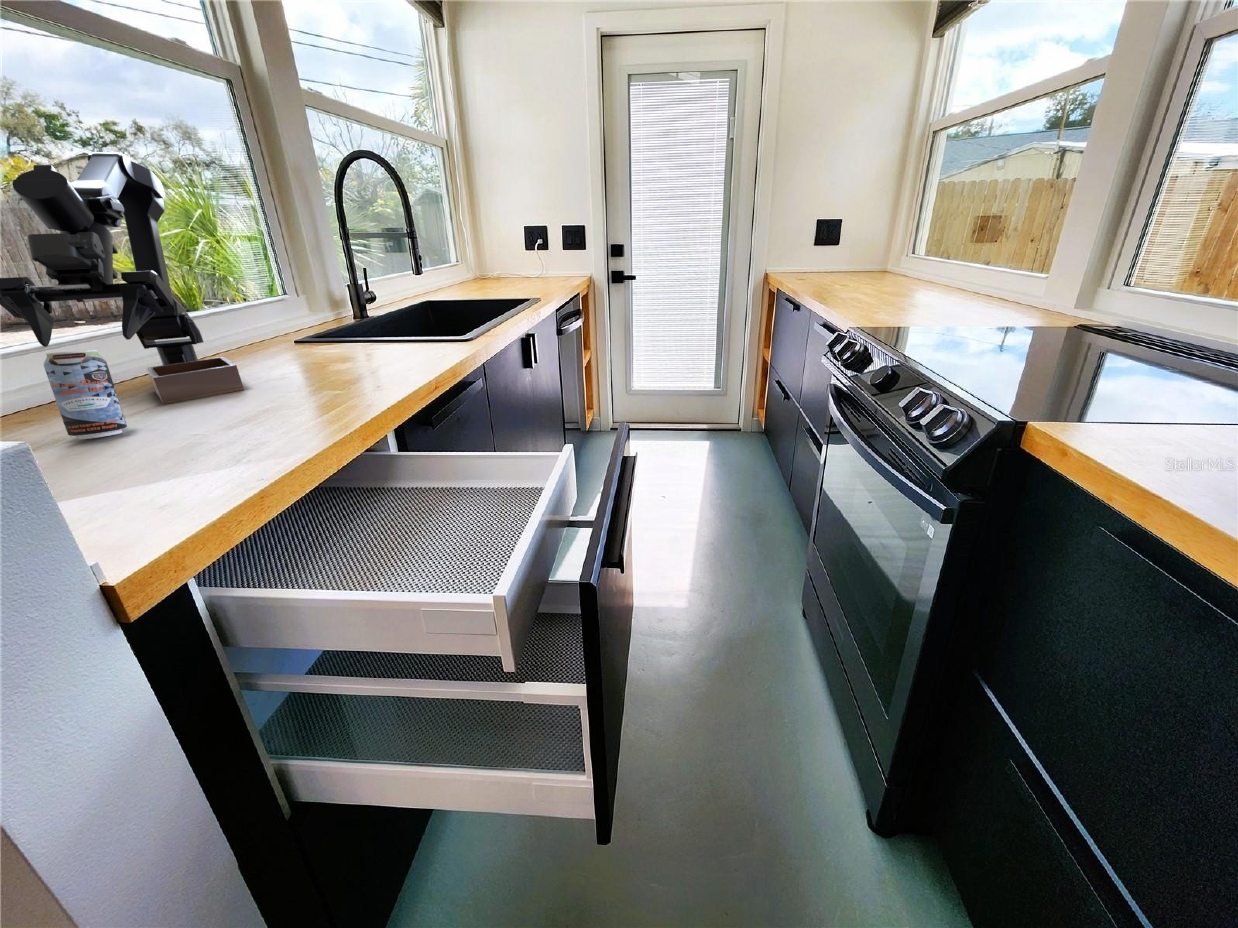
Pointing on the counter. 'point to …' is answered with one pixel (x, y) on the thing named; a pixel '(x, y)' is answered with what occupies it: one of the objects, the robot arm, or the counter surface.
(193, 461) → the counter surface
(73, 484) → the counter surface
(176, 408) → the counter surface
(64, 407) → the beverage can
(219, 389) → the brown rectangular open box
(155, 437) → the counter surface
